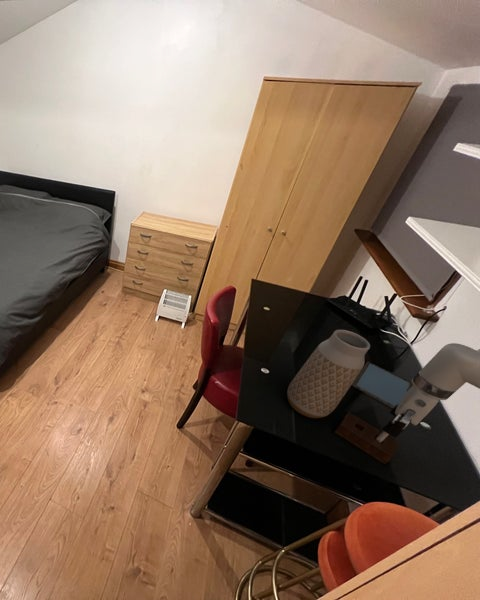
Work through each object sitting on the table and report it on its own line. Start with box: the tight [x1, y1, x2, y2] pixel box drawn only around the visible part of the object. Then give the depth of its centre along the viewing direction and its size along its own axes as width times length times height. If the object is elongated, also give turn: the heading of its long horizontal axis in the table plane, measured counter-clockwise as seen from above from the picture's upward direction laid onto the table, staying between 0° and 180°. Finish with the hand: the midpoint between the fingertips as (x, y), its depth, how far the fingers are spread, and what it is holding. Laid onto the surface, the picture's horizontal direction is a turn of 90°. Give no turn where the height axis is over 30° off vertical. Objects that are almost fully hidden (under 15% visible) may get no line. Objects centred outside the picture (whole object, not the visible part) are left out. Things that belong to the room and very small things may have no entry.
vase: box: [286, 329, 371, 419], centre depth 103 cm, size 14×14×31 cm
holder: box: [334, 411, 400, 465], centre depth 101 cm, size 13×8×4 cm, turn 40°
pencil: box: [376, 418, 401, 442], centre depth 97 cm, size 1×1×13 cm
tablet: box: [351, 361, 413, 410], centre depth 123 cm, size 22×15×1 cm
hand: (392, 424), depth 94 cm, fingers open, 9 cm apart
